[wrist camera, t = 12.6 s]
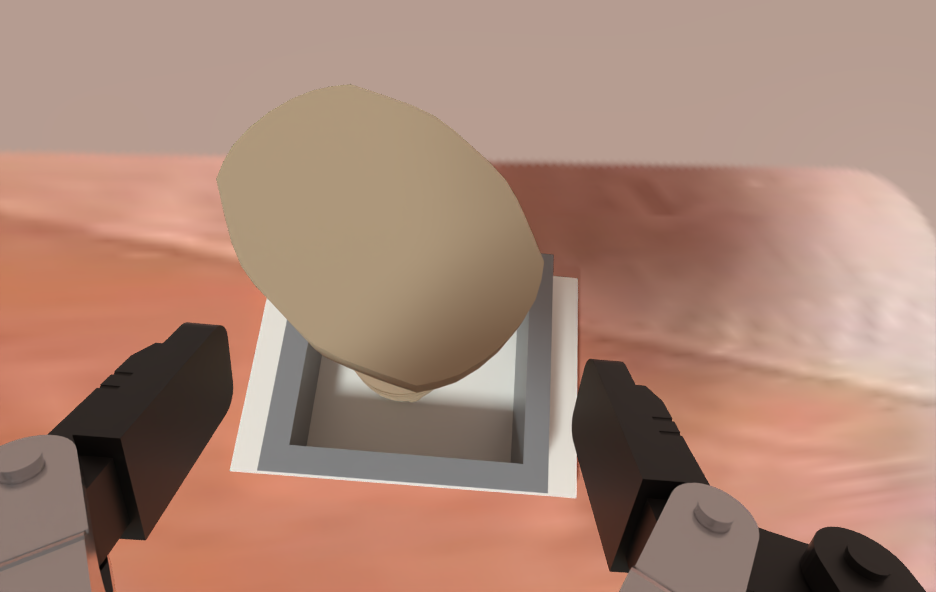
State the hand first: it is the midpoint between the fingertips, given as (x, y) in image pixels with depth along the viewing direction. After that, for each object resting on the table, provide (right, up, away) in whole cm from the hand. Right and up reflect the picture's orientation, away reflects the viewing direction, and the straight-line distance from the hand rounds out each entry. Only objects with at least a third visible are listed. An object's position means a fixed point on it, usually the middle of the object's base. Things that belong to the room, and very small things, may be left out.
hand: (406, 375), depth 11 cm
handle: (-2, -2, +12) cm, 13 cm away
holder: (-1, -2, +13) cm, 13 cm away
